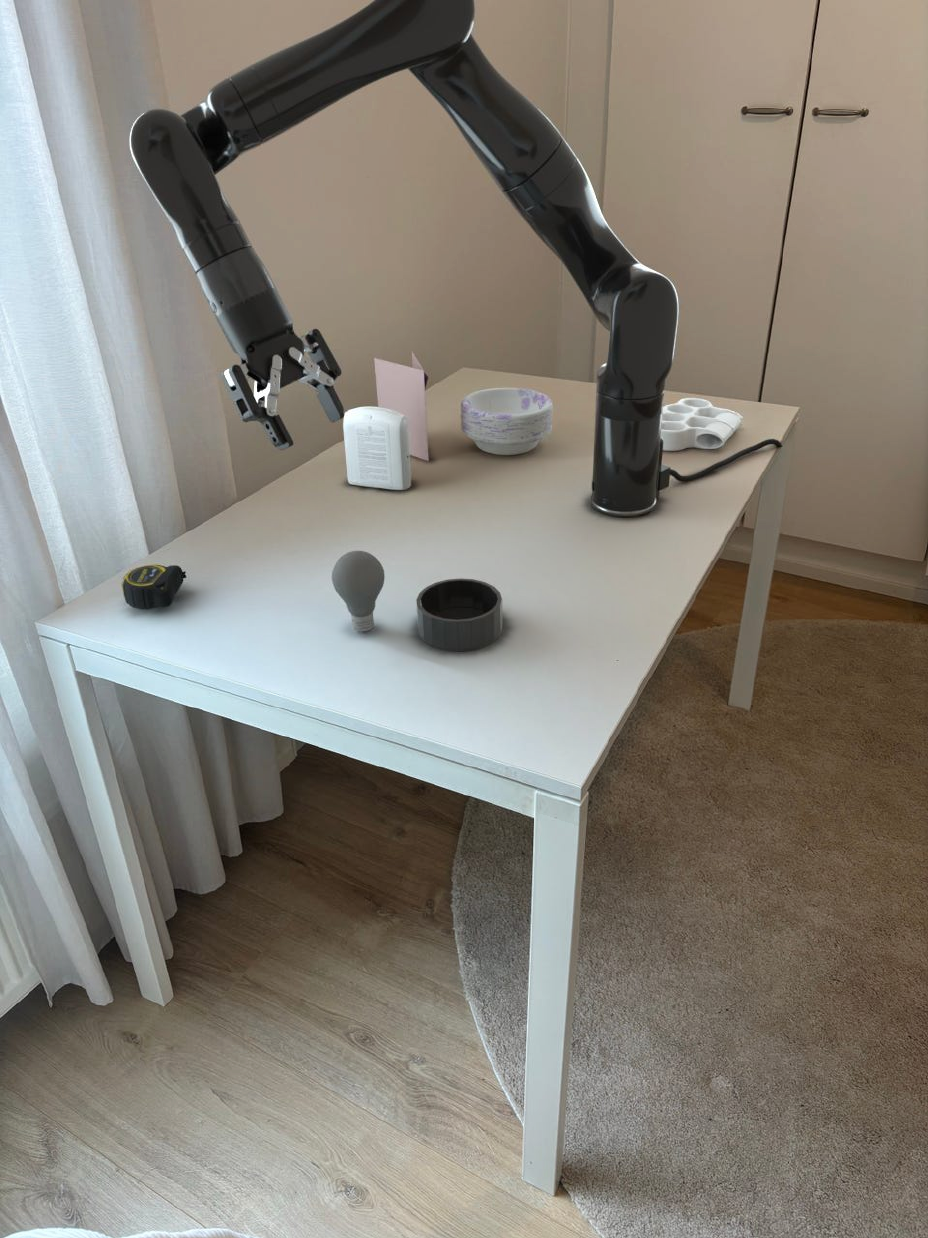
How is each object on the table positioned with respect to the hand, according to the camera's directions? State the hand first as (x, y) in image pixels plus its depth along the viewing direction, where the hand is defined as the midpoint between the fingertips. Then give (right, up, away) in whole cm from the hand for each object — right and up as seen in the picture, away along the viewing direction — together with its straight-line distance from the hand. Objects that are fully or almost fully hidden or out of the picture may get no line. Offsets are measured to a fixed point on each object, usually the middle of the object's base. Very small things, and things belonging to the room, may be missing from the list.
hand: (313, 433), depth 110 cm
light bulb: (+6, -23, +2) cm, 24 cm away
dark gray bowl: (+17, -23, +1) cm, 28 cm away
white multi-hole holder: (+56, +10, +52) cm, 77 cm away
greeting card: (+8, +7, +50) cm, 51 cm away
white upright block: (+4, -1, +38) cm, 38 cm away
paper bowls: (+25, +8, +51) cm, 57 cm away
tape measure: (-21, -19, +9) cm, 30 cm away
